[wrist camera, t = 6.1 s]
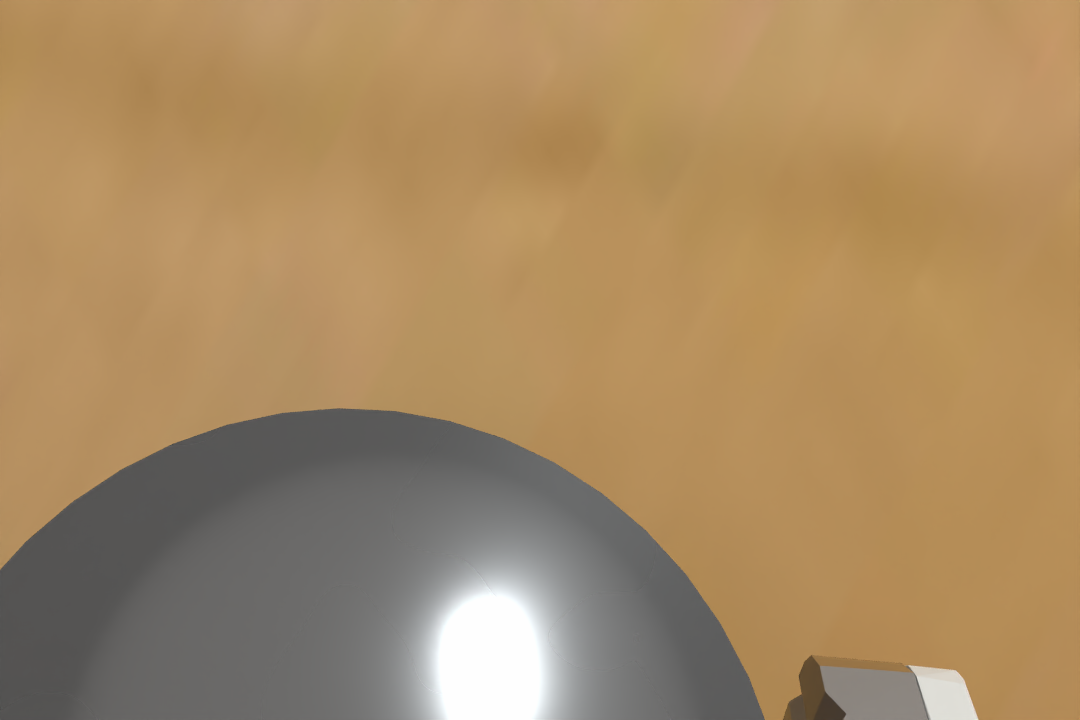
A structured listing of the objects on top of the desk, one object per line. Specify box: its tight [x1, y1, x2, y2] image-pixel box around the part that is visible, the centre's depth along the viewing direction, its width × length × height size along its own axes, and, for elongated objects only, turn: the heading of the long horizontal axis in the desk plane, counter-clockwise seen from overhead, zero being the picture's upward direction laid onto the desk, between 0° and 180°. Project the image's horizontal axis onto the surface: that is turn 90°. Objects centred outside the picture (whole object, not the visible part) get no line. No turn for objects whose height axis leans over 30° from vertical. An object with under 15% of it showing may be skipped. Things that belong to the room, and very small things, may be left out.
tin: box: [0, 409, 765, 720], centre depth 11 cm, size 6×6×10 cm
